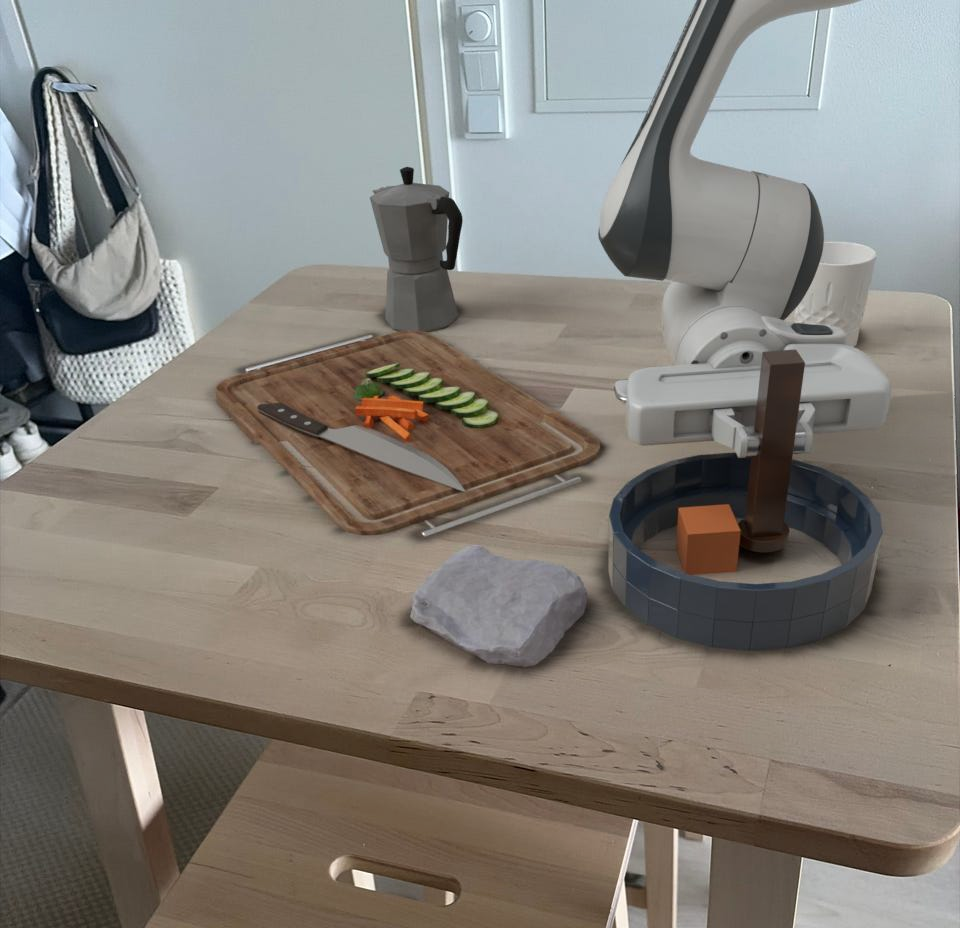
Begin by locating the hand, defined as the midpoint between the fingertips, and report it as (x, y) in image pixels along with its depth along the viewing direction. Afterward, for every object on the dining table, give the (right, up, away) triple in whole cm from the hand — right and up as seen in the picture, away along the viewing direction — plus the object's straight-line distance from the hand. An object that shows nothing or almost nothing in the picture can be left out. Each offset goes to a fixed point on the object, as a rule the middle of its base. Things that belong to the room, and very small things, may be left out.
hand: (776, 446), depth 75 cm
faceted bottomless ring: (-2, -10, +5) cm, 11 cm away
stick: (0, -6, +6) cm, 9 cm away
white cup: (+17, +19, +41) cm, 48 cm away
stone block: (-21, -13, +2) cm, 25 cm away
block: (-4, -8, +6) cm, 11 cm away
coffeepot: (-28, +26, +54) cm, 66 cm away
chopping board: (-31, +8, +31) cm, 44 cm away
